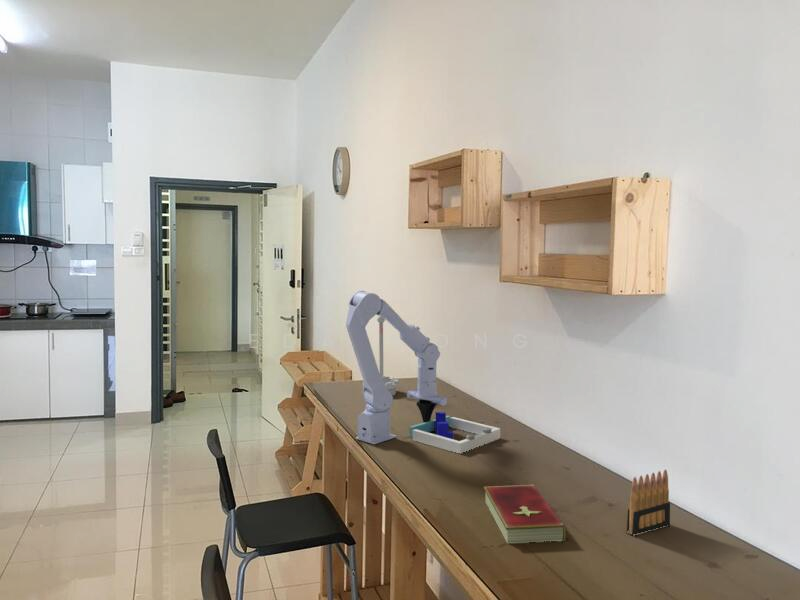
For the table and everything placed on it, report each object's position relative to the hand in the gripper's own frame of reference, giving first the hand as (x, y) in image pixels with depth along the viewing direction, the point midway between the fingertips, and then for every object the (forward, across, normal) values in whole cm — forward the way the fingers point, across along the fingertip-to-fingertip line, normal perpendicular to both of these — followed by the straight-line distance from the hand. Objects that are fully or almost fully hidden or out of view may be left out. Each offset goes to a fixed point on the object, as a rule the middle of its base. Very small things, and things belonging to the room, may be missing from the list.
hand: (426, 424), depth 202 cm
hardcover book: (+3, -56, +33) cm, 65 cm away
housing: (+2, -11, 0) cm, 11 cm away
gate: (+2, -1, -1) cm, 2 cm away
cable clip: (+3, -7, 0) cm, 8 cm away
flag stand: (+3, +44, -24) cm, 51 cm away
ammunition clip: (+2, -78, +19) cm, 80 cm away
